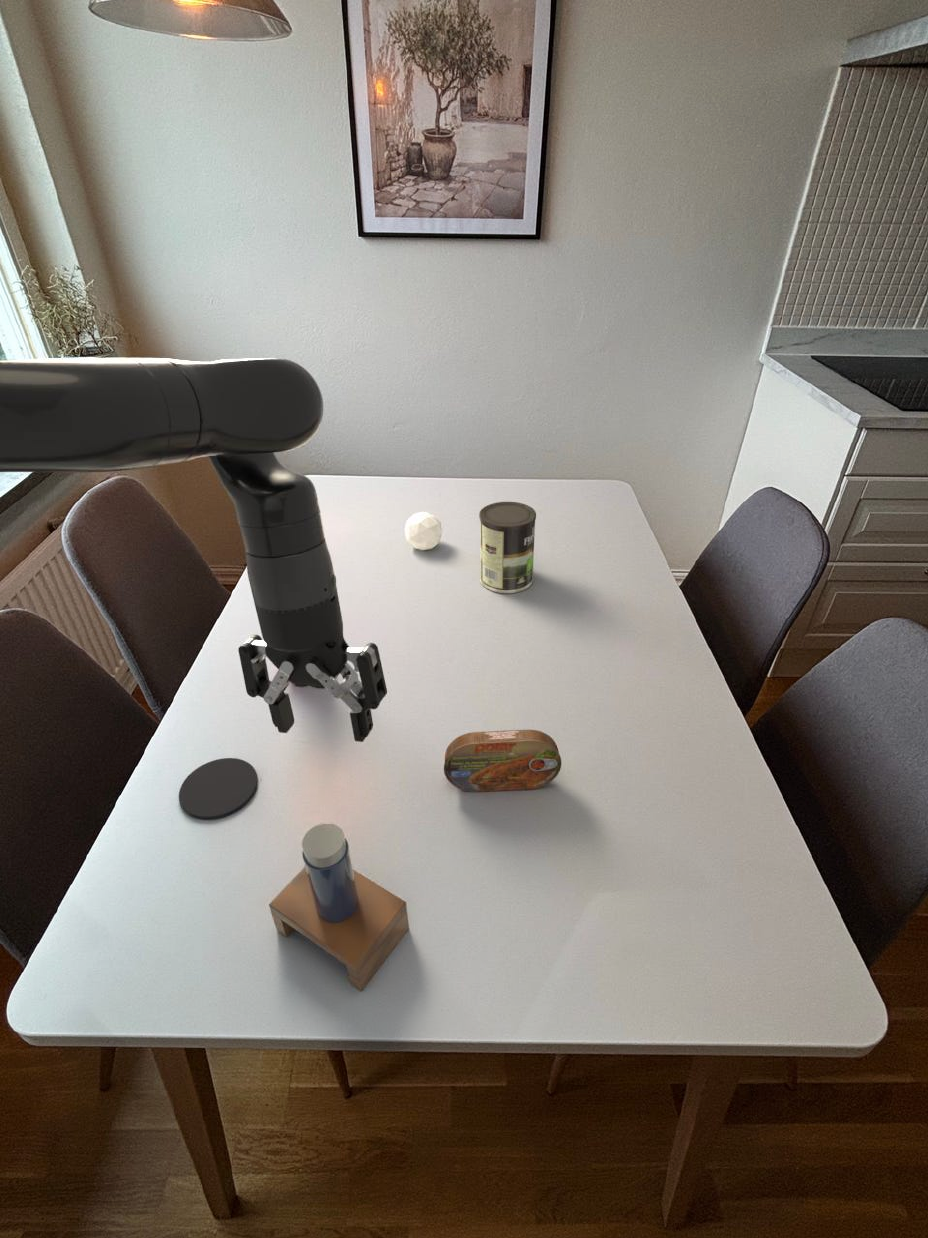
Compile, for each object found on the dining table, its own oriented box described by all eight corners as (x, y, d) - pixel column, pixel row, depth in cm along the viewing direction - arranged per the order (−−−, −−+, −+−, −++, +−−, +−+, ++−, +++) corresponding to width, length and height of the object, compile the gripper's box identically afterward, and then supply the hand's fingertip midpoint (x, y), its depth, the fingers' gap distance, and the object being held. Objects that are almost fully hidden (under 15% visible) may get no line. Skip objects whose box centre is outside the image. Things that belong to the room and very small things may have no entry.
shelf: (361, 992, 68) (356, 966, 66) (276, 930, 74) (268, 904, 71) (409, 928, 74) (406, 902, 71) (327, 875, 79) (321, 849, 76)
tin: (445, 793, 89) (442, 748, 84) (444, 775, 92) (442, 729, 87) (559, 789, 89) (564, 743, 84) (556, 770, 92) (560, 725, 87)
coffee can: (537, 568, 134) (540, 503, 126) (527, 597, 126) (530, 529, 118) (486, 562, 137) (486, 498, 129) (473, 590, 129) (473, 523, 120)
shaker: (339, 931, 69) (324, 868, 62) (307, 909, 71) (290, 846, 64) (367, 897, 72) (356, 834, 65) (335, 877, 74) (322, 814, 67)
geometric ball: (415, 557, 145) (398, 522, 144) (449, 540, 144) (432, 505, 144) (414, 557, 137) (395, 521, 136) (449, 539, 137) (431, 503, 136)
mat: (214, 832, 85) (213, 829, 84) (163, 798, 89) (162, 795, 89) (273, 780, 91) (273, 777, 91) (223, 750, 96) (222, 747, 96)
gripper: (204, 603, 61) (244, 748, 69) (349, 611, 57) (375, 764, 65) (248, 570, 68) (280, 706, 75) (381, 575, 64) (402, 718, 71)
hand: (324, 732), depth 70 cm, fingers open, 8 cm apart
